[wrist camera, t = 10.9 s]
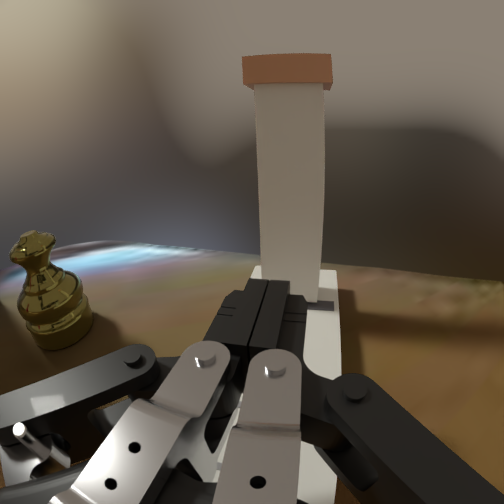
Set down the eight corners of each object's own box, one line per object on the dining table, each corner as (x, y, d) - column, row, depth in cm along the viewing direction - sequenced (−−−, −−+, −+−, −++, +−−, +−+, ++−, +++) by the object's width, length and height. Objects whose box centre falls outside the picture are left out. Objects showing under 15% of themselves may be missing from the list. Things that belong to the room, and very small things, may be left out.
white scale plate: (168, 493, 9) (155, 482, 9) (256, 282, 29) (255, 264, 28) (324, 521, 8) (332, 516, 7) (333, 287, 27) (336, 269, 26)
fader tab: (253, 300, 22) (242, 56, 14) (262, 277, 25) (253, 67, 17) (324, 305, 21) (330, 54, 13) (324, 282, 24) (328, 66, 16)
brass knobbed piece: (56, 305, 25) (28, 222, 21) (106, 308, 25) (78, 214, 21) (23, 346, 18) (-19, 253, 14) (75, 357, 18) (27, 249, 14)
